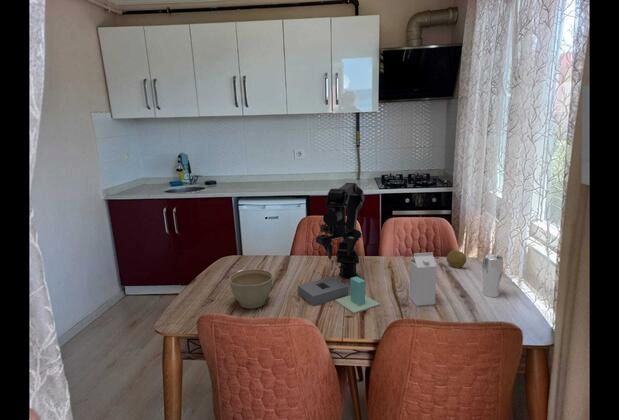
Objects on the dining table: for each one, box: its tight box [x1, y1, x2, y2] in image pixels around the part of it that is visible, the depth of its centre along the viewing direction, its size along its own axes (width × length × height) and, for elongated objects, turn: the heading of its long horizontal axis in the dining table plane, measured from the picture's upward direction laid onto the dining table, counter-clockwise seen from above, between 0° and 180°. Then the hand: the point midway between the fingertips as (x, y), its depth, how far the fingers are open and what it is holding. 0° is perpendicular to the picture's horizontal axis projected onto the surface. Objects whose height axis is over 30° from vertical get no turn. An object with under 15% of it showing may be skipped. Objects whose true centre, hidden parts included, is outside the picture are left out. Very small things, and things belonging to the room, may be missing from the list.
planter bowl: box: [228, 268, 274, 310], centre depth 141 cm, size 16×16×11 cm
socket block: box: [297, 275, 350, 307], centre depth 146 cm, size 16×12×4 cm
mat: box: [334, 294, 381, 315], centre depth 139 cm, size 12×12×1 cm
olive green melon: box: [446, 249, 467, 269], centre depth 169 cm, size 7×8×8 cm
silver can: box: [481, 253, 504, 298], centre depth 141 cm, size 7×7×15 cm
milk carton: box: [409, 251, 437, 307], centre depth 136 cm, size 7×7×19 cm
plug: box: [349, 276, 366, 306], centre depth 137 cm, size 3×5×9 cm, turn 29°
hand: (339, 257), depth 151 cm, fingers open, 9 cm apart
